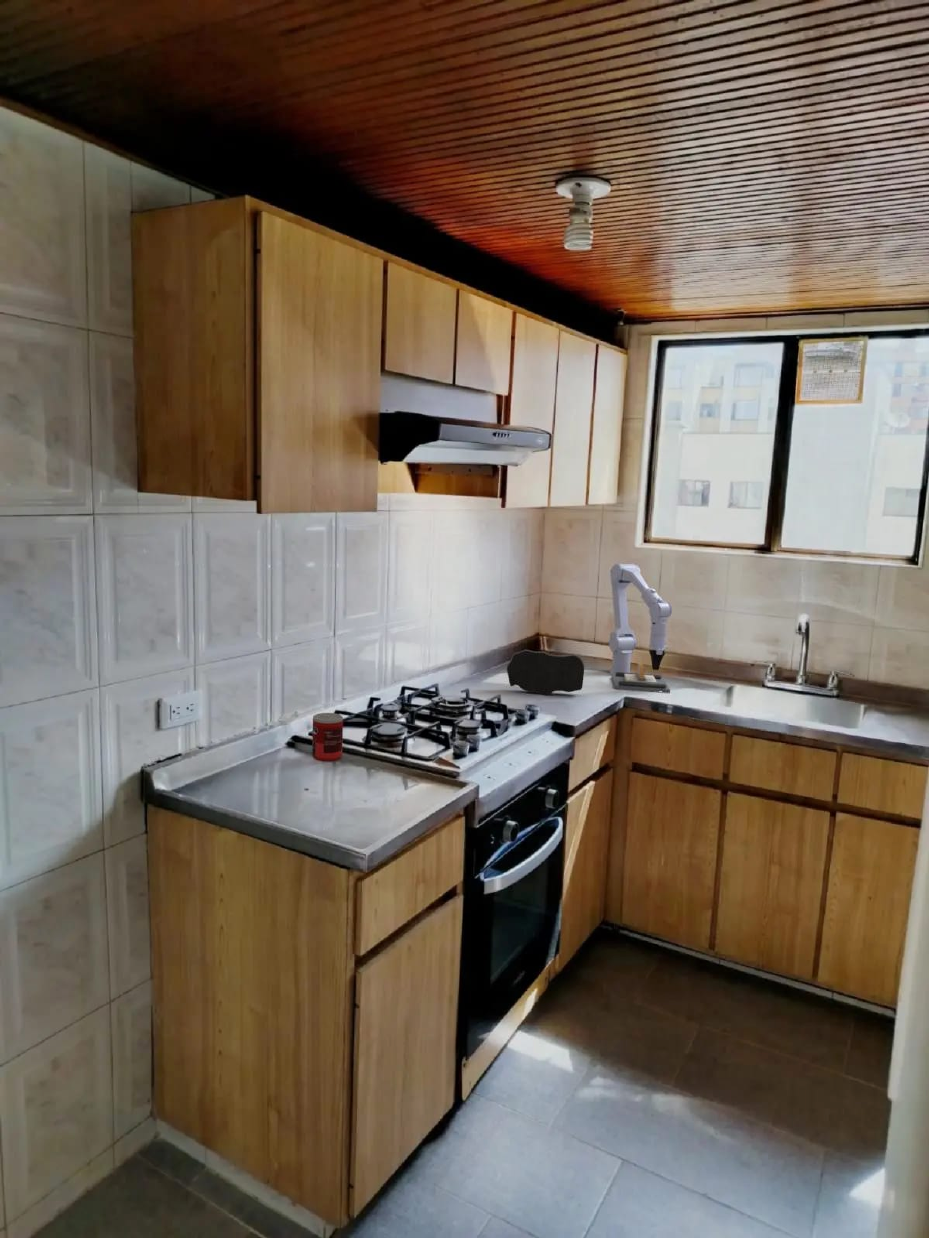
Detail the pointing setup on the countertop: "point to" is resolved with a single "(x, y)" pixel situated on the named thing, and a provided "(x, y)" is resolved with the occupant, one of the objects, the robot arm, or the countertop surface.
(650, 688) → the switch board
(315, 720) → the canned food
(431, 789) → the countertop surface
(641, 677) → the breaker lever
